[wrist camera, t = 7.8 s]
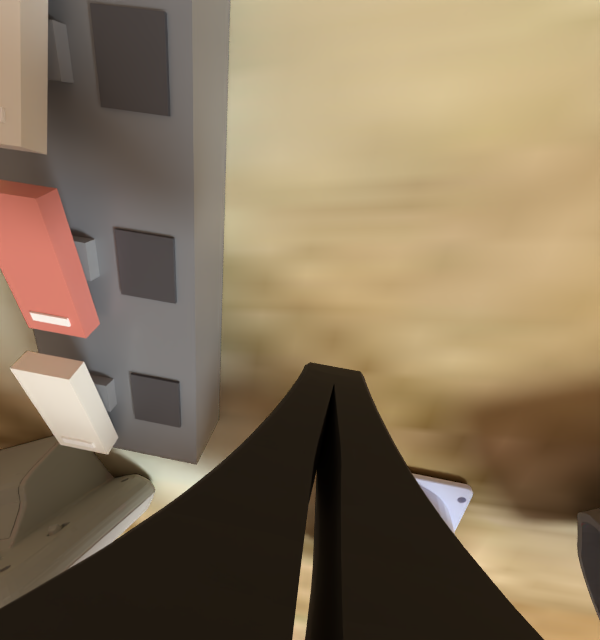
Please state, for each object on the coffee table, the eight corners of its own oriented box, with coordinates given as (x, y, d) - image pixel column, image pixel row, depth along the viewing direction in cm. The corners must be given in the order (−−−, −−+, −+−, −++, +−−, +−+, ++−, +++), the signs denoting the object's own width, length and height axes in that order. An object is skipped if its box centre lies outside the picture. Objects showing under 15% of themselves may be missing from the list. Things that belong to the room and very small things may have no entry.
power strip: (218, 419, 23) (192, 473, 20) (98, 395, 24) (50, 443, 20) (235, -221, 12) (176, -389, 8) (-4, -237, 12) (-165, -401, 8)
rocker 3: (118, 437, 20) (106, 456, 19) (72, 427, 20) (59, 446, 19) (84, 361, 16) (67, 381, 15) (27, 350, 16) (7, 369, 15)
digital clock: (7, 515, 32) (-139, 674, 23) (-54, 435, 28) (-260, 586, 19) (178, 516, 29) (89, 703, 19) (134, 424, 25) (-4, 602, 16)
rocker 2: (100, 323, 17) (85, 339, 16) (45, 313, 17) (27, 329, 16) (57, 188, 13) (33, 199, 12) (-14, 177, 13) (-41, 187, 12)
